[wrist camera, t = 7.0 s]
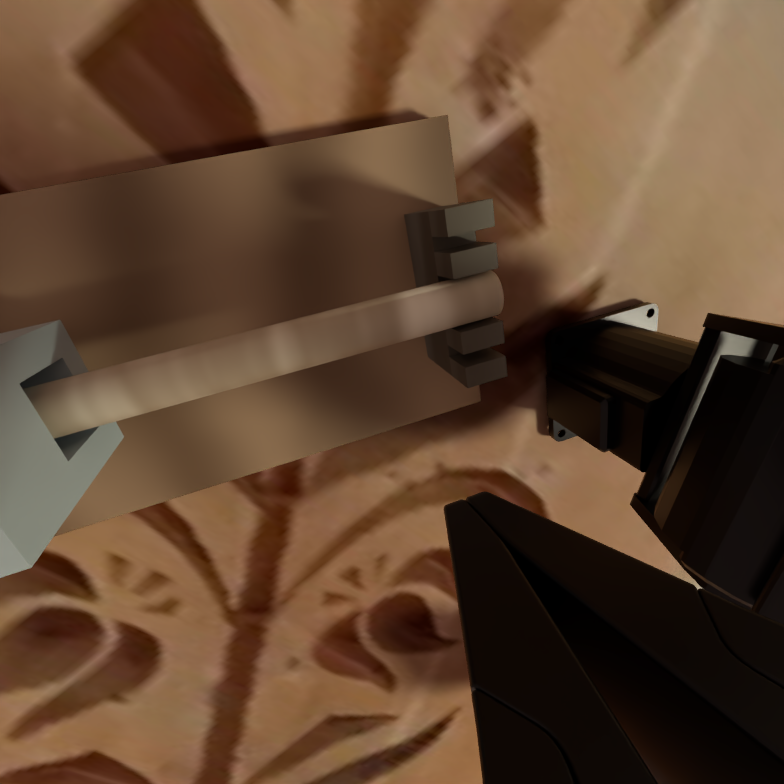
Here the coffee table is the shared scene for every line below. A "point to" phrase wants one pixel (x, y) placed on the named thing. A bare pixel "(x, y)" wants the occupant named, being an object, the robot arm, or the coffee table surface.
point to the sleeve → (40, 446)
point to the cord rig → (255, 305)
